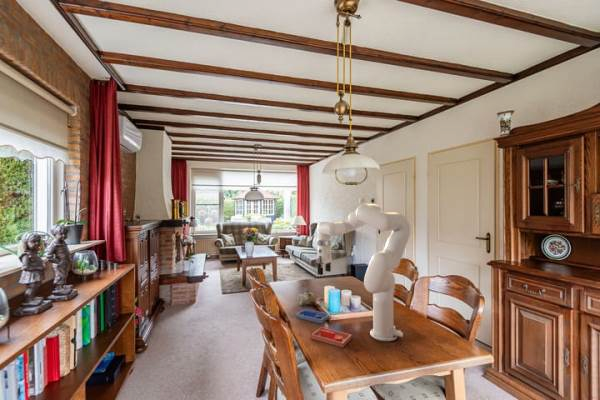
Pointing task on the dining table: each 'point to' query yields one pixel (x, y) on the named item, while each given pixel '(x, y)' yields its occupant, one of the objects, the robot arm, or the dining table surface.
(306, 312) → the blue spoon
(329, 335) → the red spoon
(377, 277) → the robot arm
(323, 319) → the blue tray
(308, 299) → the ceramic sculpture
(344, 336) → the rose tray
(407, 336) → the dining table surface
